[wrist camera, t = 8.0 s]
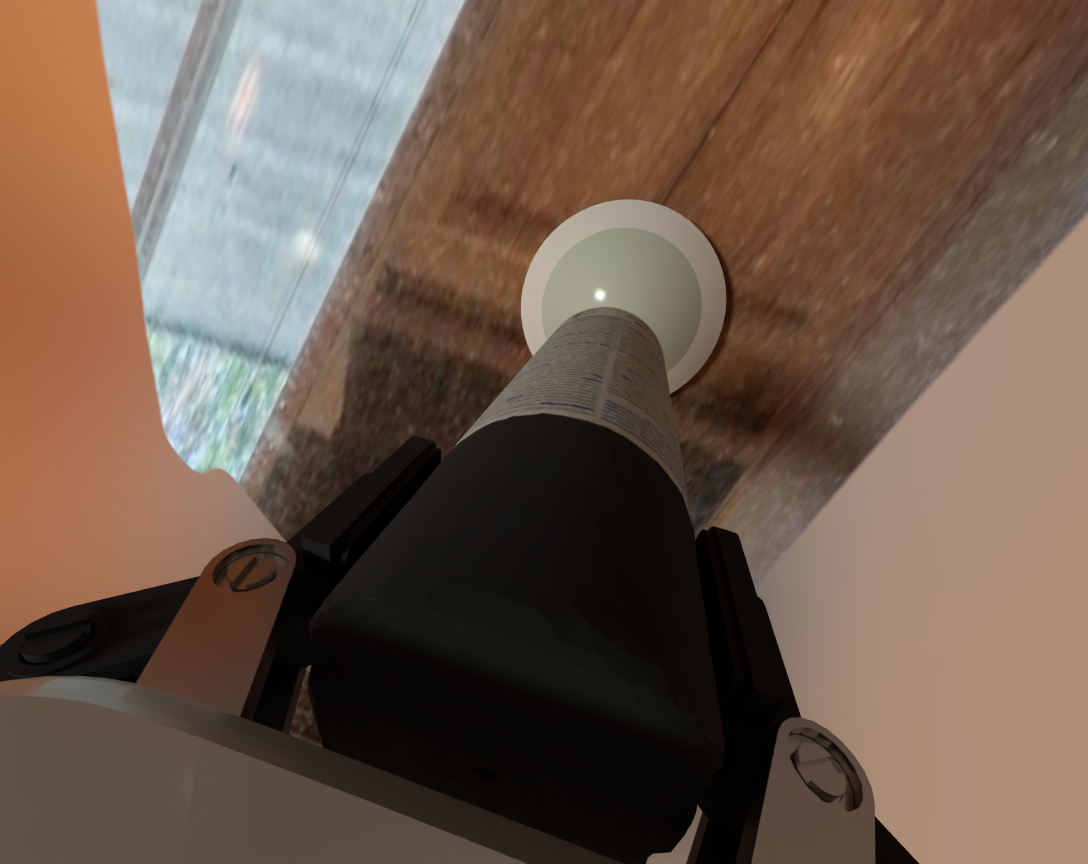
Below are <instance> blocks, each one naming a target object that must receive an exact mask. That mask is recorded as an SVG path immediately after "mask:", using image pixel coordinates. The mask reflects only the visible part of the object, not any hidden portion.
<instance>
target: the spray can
mask: <svg viewBox="0 0 1088 864" xmlns="http://www.w3.org/2000/svg"><path fill="white" fill-rule="evenodd" d="M309 629H310V639H311V643H312V645H313V646H314V648H315V650H316V652H317V654H318V656H317V657H316V658H315V660H314V661H313V663H312V666H311V669H310V672H309V679H308V695H309V698H310V701H311V705H312V709H313V712H314V716H315V720H316V724H317V728H318V731H319V733H320V736H321V738H322V744H323V748H325V749H327V750H330V751H333V752H335V753H338V754H341V755H343V756H346V757H349V758H351V759H354V760H356V761H359V762H362V763H364V764H367V765H370V766H372V767H375V768H377V769H380V770H383V771H385V772H388V773H391V774H393V775H396V776H398V777H401V778H404V779H406V780H409V781H411V782H414V783H417V784H419V785H422V786H424V787H427V788H430V789H432V790H435V791H437V792H440V793H443V794H445V795H448V796H450V797H453V798H456V799H458V800H461V801H463V802H466V803H468V804H471V805H474V806H476V807H479V808H481V809H484V810H487V811H489V812H492V813H494V814H497V815H500V816H502V817H505V818H507V819H510V820H512V821H515V822H518V823H520V824H523V825H525V826H528V827H531V828H533V829H536V830H538V831H541V832H543V833H546V834H549V835H551V836H554V837H556V838H559V839H562V840H564V841H567V842H569V843H572V844H574V845H577V846H579V847H582V848H584V849H587V850H590V851H592V852H595V853H597V854H600V855H602V856H605V857H607V858H610V859H612V860H615V861H618V862H620V863H623V864H646V861H647V859H648V857H649V856H650V855H652V854H653V853H667V852H671V851H672V850H673V849H674V847H675V846H676V845H677V844H678V842H679V841H680V840H681V838H683V836H684V835H685V833H686V832H687V830H688V828H689V827H690V825H691V823H692V821H693V819H694V816H695V814H696V810H697V802H698V798H699V796H700V794H701V792H702V791H705V790H708V789H710V788H712V783H713V777H714V774H715V773H716V772H717V771H718V770H719V769H720V768H721V767H722V762H723V754H724V746H725V738H724V733H723V727H722V721H721V716H720V709H719V702H718V695H717V688H716V682H715V676H714V670H713V663H712V655H711V649H710V642H709V636H708V629H707V621H706V614H705V607H704V601H703V594H702V588H701V582H700V575H699V569H698V562H697V555H696V543H695V536H694V530H693V519H692V515H691V511H690V506H689V501H688V495H687V489H686V483H685V477H684V471H683V466H682V459H681V453H680V447H679V442H678V434H677V431H676V425H675V420H674V414H673V408H672V402H671V396H670V390H669V385H668V378H667V372H666V366H665V359H664V355H663V351H662V348H661V345H660V342H659V340H658V338H657V337H656V335H655V333H654V332H653V331H652V329H651V328H650V327H649V326H648V325H647V324H646V323H645V322H644V321H643V320H641V319H640V318H639V317H637V316H635V315H634V314H632V313H630V312H628V311H625V310H622V309H619V308H614V307H596V308H590V309H587V310H584V311H581V312H579V313H576V314H575V315H573V316H571V317H570V318H568V319H567V320H566V321H564V322H563V323H562V324H561V325H560V326H559V327H558V328H557V329H556V331H555V332H554V333H553V334H552V335H551V336H550V337H549V338H548V340H547V341H546V342H545V343H544V344H543V345H542V347H541V348H540V349H539V350H538V351H537V352H536V353H535V354H534V356H533V357H532V358H531V359H530V360H529V361H528V362H527V364H526V365H525V366H524V367H523V368H522V369H521V370H520V372H519V373H518V374H517V375H516V377H515V378H514V379H513V380H512V381H511V382H510V383H509V384H508V385H507V387H506V388H505V389H504V390H503V391H502V392H501V394H500V395H499V396H498V397H497V398H496V399H495V401H494V402H493V403H492V404H491V405H490V406H489V407H488V408H487V410H486V411H485V412H484V413H483V414H482V416H481V417H480V418H479V419H478V420H477V421H476V422H475V424H474V425H473V426H472V427H471V428H470V429H469V430H468V431H467V433H466V434H465V435H464V436H463V437H462V438H461V439H460V441H459V442H458V443H457V444H456V445H455V447H454V448H453V449H452V450H451V451H450V452H449V453H448V454H447V455H446V457H445V458H444V459H443V460H442V462H441V463H440V464H439V465H438V467H437V468H436V469H435V470H434V472H433V473H432V474H431V475H430V477H429V478H428V479H427V480H426V481H425V483H424V484H423V485H422V486H421V487H420V489H419V490H418V491H417V492H416V493H415V495H414V496H413V497H412V498H411V499H410V500H409V502H408V503H407V504H406V505H405V506H404V507H403V508H402V509H401V510H400V512H399V513H398V514H397V515H396V516H395V518H394V519H393V520H392V521H391V522H390V524H389V525H388V526H387V527H386V528H385V529H384V530H383V531H382V533H381V534H380V535H379V536H378V537H377V539H376V540H375V541H374V542H373V543H372V545H371V546H370V547H369V548H368V549H367V551H366V552H365V553H364V554H363V555H362V556H361V557H360V558H359V559H358V561H357V562H356V563H355V564H354V566H353V567H352V568H351V569H350V571H349V572H348V573H347V574H346V576H345V577H344V578H343V579H342V580H341V581H340V583H339V584H338V585H337V586H336V587H335V588H334V590H333V591H332V592H331V593H330V595H329V596H328V597H327V598H326V600H325V601H324V602H323V604H322V605H321V607H320V608H319V609H318V611H317V612H316V613H315V615H314V616H313V618H312V619H311V621H310V622H309Z"/></svg>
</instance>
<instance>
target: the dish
mask: <svg viewBox="0 0 1088 864" xmlns="http://www.w3.org/2000/svg"><path fill="white" fill-rule="evenodd" d="M596 307H614V308H619V309H622V310H625V311H628V312H630V313H632V314H634V315H635V316H637V317H639V318H640V319H641V320H643V321H644V322H645V323H646V324H647V325H648V326H649V327H650V328H651V329H652V331H653V332H654V333H655V335H656V337H657V338H658V340H659V342H660V345H661V348H662V351H663V355H664V359H665V366H666V372H667V378H668V385H669V390H670V394H671V393H672V392H674V391H676V390H677V389H679V388H680V387H681V386H683V385H684V384H685V383H687V382H688V381H689V380H690V379H691V378H692V377H693V376H694V375H695V374H696V373H697V372H698V371H699V370H700V369H701V367H702V366H703V365H704V364H705V362H706V361H707V359H708V358H709V356H710V355H711V353H712V351H713V349H714V347H715V345H716V343H717V341H718V339H719V336H720V333H721V330H722V327H723V322H724V317H725V311H726V286H725V280H724V275H723V271H722V268H721V265H720V262H719V260H718V257H717V255H716V253H715V251H714V249H713V248H712V246H711V244H710V243H709V241H708V240H707V239H706V237H705V236H704V235H703V233H702V232H701V231H700V230H699V229H698V228H697V227H696V226H695V225H694V224H693V223H692V222H691V221H689V220H688V219H686V218H685V217H683V216H682V215H681V214H679V213H677V212H675V211H673V210H671V209H669V208H667V207H665V206H662V205H659V204H656V203H653V202H648V201H641V200H616V201H609V202H604V203H601V204H597V205H594V206H591V207H589V208H587V209H585V210H582V211H580V212H578V213H577V214H575V215H573V216H572V217H570V218H569V219H567V220H566V221H565V222H563V223H562V224H561V225H560V226H559V227H557V228H556V229H555V230H554V231H553V232H552V233H551V234H550V236H549V237H548V238H547V239H546V240H545V241H544V243H543V244H542V246H541V247H540V248H539V250H538V251H537V253H536V255H535V257H534V259H533V260H532V262H531V264H530V267H529V270H528V272H527V275H526V278H525V282H524V286H523V291H522V300H521V317H522V325H523V330H524V334H525V338H526V341H527V344H528V346H529V349H530V351H531V353H532V355H533V356H534V354H535V353H536V352H537V351H538V350H539V349H540V348H541V347H542V345H543V344H544V343H545V342H546V341H547V340H548V338H549V337H550V336H551V335H552V334H553V333H554V332H555V331H556V329H557V328H558V327H559V326H560V325H561V324H562V323H563V322H564V321H566V320H567V319H568V318H570V317H571V316H573V315H575V314H576V313H579V312H581V311H584V310H587V309H590V308H596Z"/></svg>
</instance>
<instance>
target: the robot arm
mask: <svg viewBox="0 0 1088 864" xmlns="http://www.w3.org/2000/svg"><path fill="white" fill-rule="evenodd" d="M440 463H441V449H439V448H436V443H435V442H434V441H431V440H428V439H425V438H421V437H418V436H412V437H411V438H410V439H409V440H407V441H406V442H405V443H404V444H403V445H402V446H401V447H400V448H399V449H398V450H396V451H395V452H394V453H393V454H392V455H391V456H390V457H389V458H388V459H387V460H385V461H384V462H383V463H382V464H381V465H380V466H379V467H378V468H377V469H376V470H374V471H373V472H372V473H371V474H365V475H363V476H361V477H360V478H359V479H358V480H356V481H355V482H354V483H353V484H352V485H351V486H350V487H349V488H347V489H346V490H345V491H344V492H343V493H342V494H341V495H340V496H338V497H337V498H336V499H335V500H334V501H333V502H332V503H331V504H329V505H328V506H327V507H326V508H325V509H324V510H323V511H322V512H320V513H319V514H318V515H317V516H316V517H315V518H314V519H313V520H311V521H310V522H309V523H308V524H307V525H306V526H305V527H303V528H302V529H301V530H300V531H299V532H298V533H297V534H296V535H294V536H293V537H292V538H291V539H290V540H289V541H288V542H287V543H286V542H283V541H280V540H277V539H269V538H261V539H251V540H248V541H245V542H241V543H237V544H235V545H233V546H231V547H229V548H227V549H225V550H223V551H222V552H220V553H219V554H218V555H217V556H215V557H214V558H213V559H212V560H211V561H210V562H209V563H208V564H207V566H206V567H205V568H204V570H203V571H202V573H201V575H200V576H198V577H194V578H190V579H186V580H182V581H178V582H173V583H169V584H165V585H161V586H157V587H153V588H148V589H144V590H140V591H136V592H131V593H127V594H123V595H119V596H115V597H111V598H106V599H102V600H98V601H94V602H90V603H85V604H81V605H77V606H73V607H70V608H66V609H63V610H60V611H57V612H54V613H51V614H49V615H47V616H45V617H43V618H40V619H38V620H36V621H34V622H32V623H30V624H29V625H27V626H26V627H24V628H23V629H21V630H20V631H18V632H17V633H15V634H14V635H13V636H11V637H10V638H9V639H8V640H7V641H6V642H5V643H4V644H1V645H0V864H623V863H620V862H618V861H615V860H612V859H610V858H607V857H605V856H602V855H600V854H597V853H595V852H592V851H590V850H587V849H584V848H582V847H579V846H577V845H574V844H572V843H569V842H567V841H564V840H562V839H559V838H556V837H554V836H551V835H549V834H546V833H543V832H541V831H538V830H536V829H533V828H531V827H528V826H525V825H523V824H520V823H518V822H515V821H512V820H510V819H507V818H505V817H502V816H500V815H497V814H494V813H492V812H489V811H487V810H484V809H481V808H479V807H476V806H474V805H471V804H468V803H466V802H463V801H461V800H458V799H456V798H453V797H450V796H448V795H445V794H443V793H440V792H437V791H435V790H432V789H430V788H427V787H424V786H422V785H419V784H417V783H414V782H411V781H409V780H406V779H404V778H401V777H398V776H396V775H393V774H391V773H388V772H385V771H383V770H380V769H377V768H375V767H372V766H370V765H367V764H364V763H362V762H359V761H356V760H354V759H351V758H349V757H346V756H343V755H341V754H338V753H335V752H333V751H330V750H327V749H325V748H322V747H320V746H317V745H314V744H312V743H309V742H306V741H304V740H301V739H299V738H296V737H293V736H291V735H289V732H290V728H291V724H292V721H293V717H294V713H295V709H296V706H297V702H298V698H299V694H300V691H301V687H302V683H303V679H304V676H305V672H306V668H307V666H309V665H312V663H313V661H314V660H315V658H316V657H317V656H318V654H317V652H316V650H315V648H314V646H313V645H312V643H311V639H310V629H309V622H310V621H311V619H312V618H313V616H314V615H315V613H316V612H317V611H318V609H319V608H320V607H321V605H322V604H323V602H324V601H325V600H326V598H327V597H328V596H329V595H330V593H331V592H332V591H333V590H334V588H335V587H336V586H337V585H338V584H339V583H340V581H341V580H342V579H343V578H344V577H345V576H346V574H347V573H348V572H349V571H350V569H351V568H352V567H353V566H354V564H355V563H356V562H357V561H358V559H359V558H360V557H361V556H362V555H363V554H364V553H365V552H366V551H367V549H368V548H369V547H370V546H371V545H372V543H373V542H374V541H375V540H376V539H377V537H378V536H379V535H380V534H381V533H382V531H383V530H384V529H385V528H386V527H387V526H388V525H389V524H390V522H391V521H392V520H393V519H394V518H395V516H396V515H397V514H398V513H399V512H400V510H401V509H402V508H403V507H404V506H405V505H406V504H407V503H408V502H409V500H410V499H411V498H412V497H413V496H414V495H415V493H416V492H417V491H418V490H419V489H420V487H421V486H422V485H423V484H424V483H425V481H426V480H427V479H428V478H429V477H430V475H431V474H432V473H433V472H434V470H435V469H436V468H437V467H438V465H439V464H440ZM695 543H696V555H697V562H698V569H699V575H700V582H701V588H702V594H703V601H704V607H705V614H706V621H707V629H708V636H709V642H710V649H711V655H712V663H713V670H714V676H715V682H716V688H717V695H718V702H719V709H720V716H721V721H722V727H723V733H724V738H725V746H724V754H723V762H722V767H721V768H720V769H719V770H718V771H717V772H716V773H715V774H714V777H713V783H712V788H710V789H708V790H705V791H702V792H701V794H700V796H699V798H698V802H697V804H698V806H699V807H700V809H701V810H702V815H701V819H700V822H699V825H698V828H697V831H696V834H695V838H694V841H693V844H692V847H691V850H690V854H689V857H688V860H687V863H686V864H919V863H918V862H917V861H916V860H915V859H914V858H913V857H912V856H911V854H909V852H908V851H907V850H906V849H905V848H904V847H903V846H902V845H901V844H900V843H899V842H898V841H897V839H895V837H894V836H893V835H892V834H891V833H890V832H889V831H888V830H887V829H886V828H885V827H884V826H883V825H882V823H881V822H880V821H879V820H878V819H877V818H876V817H875V803H874V798H873V792H872V788H871V785H870V783H869V781H868V778H867V776H866V774H865V772H864V770H863V768H862V767H861V766H860V764H859V762H858V761H857V759H856V758H855V756H854V755H853V754H852V753H851V751H850V750H848V748H847V747H846V746H845V745H844V744H843V742H842V741H841V740H839V739H838V738H837V737H836V736H835V735H833V734H832V733H831V732H830V731H828V730H827V729H826V728H824V727H822V726H821V725H819V724H817V723H815V722H814V721H811V720H808V719H804V718H801V715H800V712H799V709H798V706H797V703H796V700H795V697H794V694H793V690H792V687H791V684H790V681H789V678H788V675H787V672H786V669H785V666H784V663H783V659H782V656H781V653H780V650H779V647H778V644H777V641H776V638H775V635H774V631H773V628H772V625H771V622H770V619H769V616H768V613H767V610H766V607H765V605H764V602H763V601H762V600H761V599H760V598H759V597H757V594H756V591H755V587H754V584H753V581H752V578H751V574H750V571H749V568H748V565H747V561H746V558H745V555H744V552H743V548H742V545H741V542H740V539H739V536H738V534H736V533H734V532H731V531H728V530H725V529H721V528H718V527H715V526H712V527H711V528H709V530H704V529H703V530H701V531H700V533H699V535H698V537H697V538H696V540H695Z"/></svg>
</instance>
